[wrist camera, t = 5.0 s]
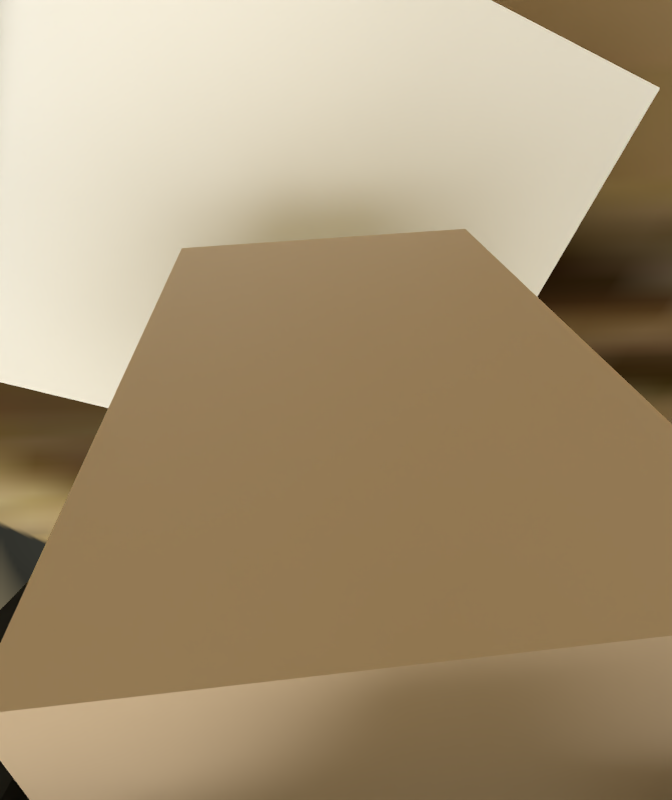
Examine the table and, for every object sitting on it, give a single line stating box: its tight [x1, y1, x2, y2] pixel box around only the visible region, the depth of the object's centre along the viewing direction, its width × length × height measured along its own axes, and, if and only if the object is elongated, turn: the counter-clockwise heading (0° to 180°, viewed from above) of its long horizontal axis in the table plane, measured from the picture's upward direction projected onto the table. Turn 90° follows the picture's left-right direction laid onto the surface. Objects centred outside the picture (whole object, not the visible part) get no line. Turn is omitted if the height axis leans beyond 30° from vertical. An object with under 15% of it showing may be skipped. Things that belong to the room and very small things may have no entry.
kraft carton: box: [0, 229, 672, 800], centre depth 8 cm, size 5×7×8 cm
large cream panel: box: [0, 0, 660, 408], centre depth 16 cm, size 15×18×4 cm
